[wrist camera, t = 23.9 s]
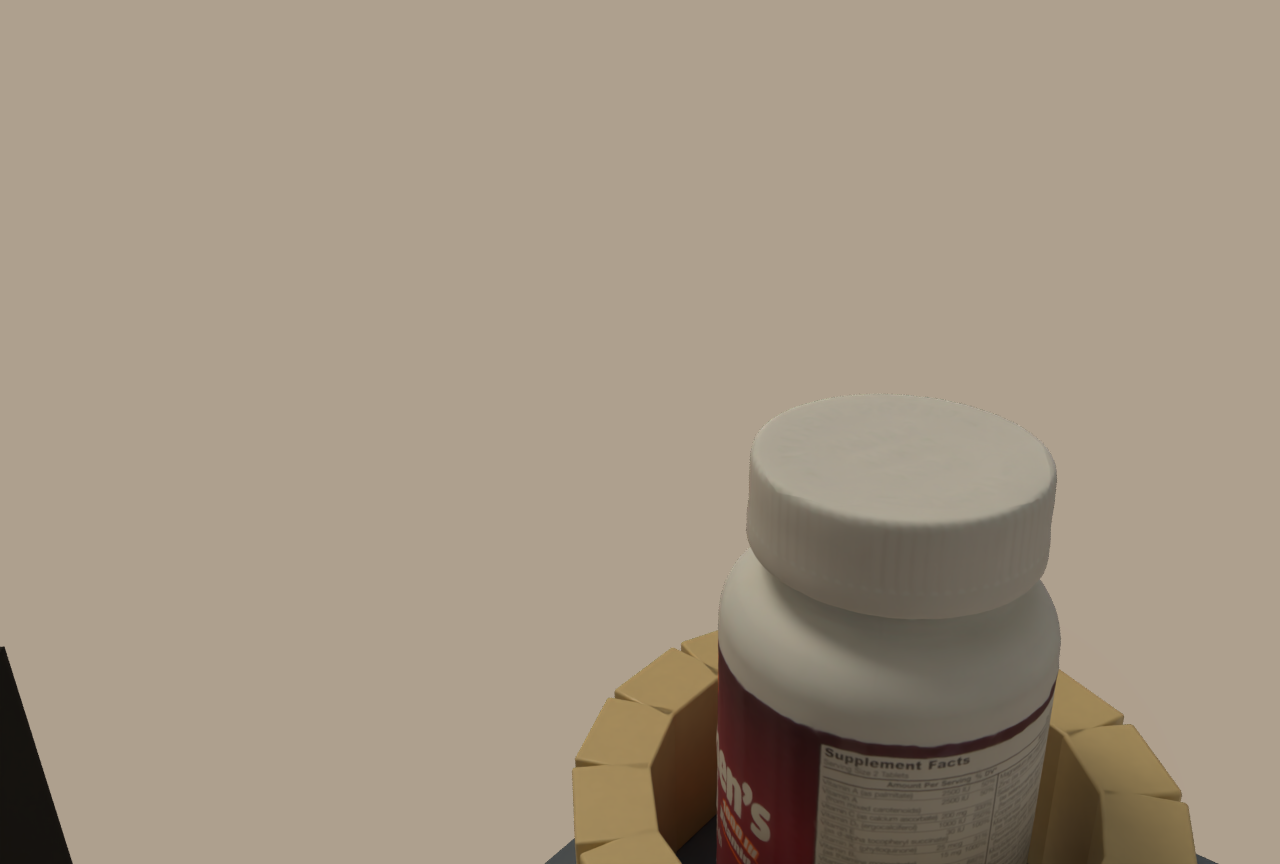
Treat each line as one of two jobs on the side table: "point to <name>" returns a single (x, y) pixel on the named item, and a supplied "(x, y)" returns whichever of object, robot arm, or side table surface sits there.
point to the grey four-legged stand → (687, 765)
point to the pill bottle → (887, 638)
